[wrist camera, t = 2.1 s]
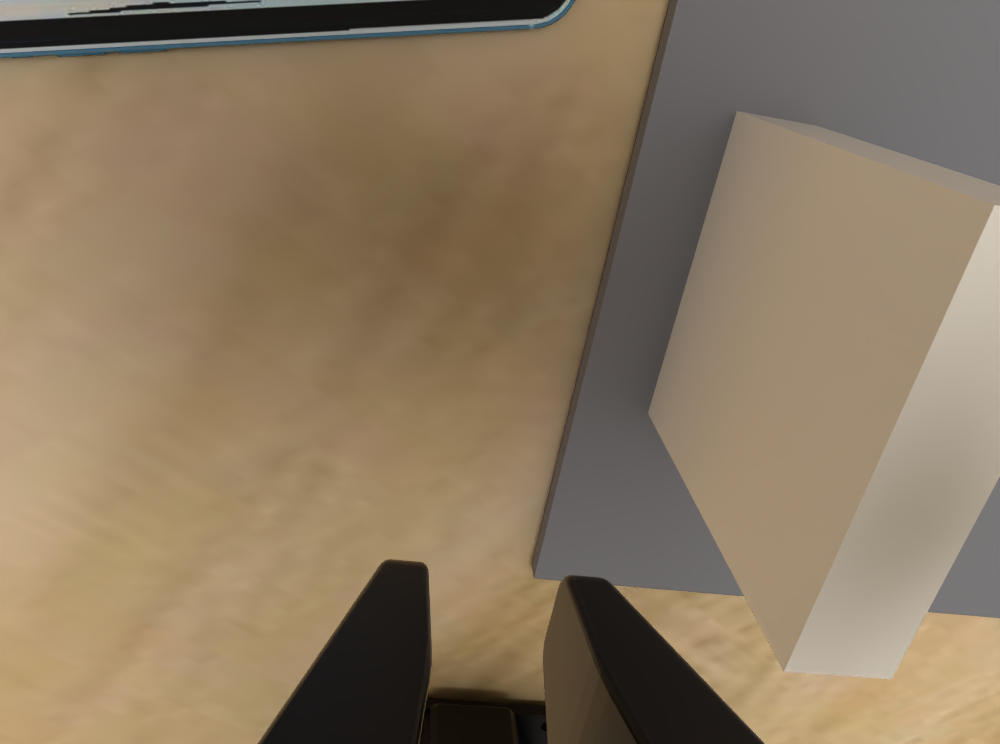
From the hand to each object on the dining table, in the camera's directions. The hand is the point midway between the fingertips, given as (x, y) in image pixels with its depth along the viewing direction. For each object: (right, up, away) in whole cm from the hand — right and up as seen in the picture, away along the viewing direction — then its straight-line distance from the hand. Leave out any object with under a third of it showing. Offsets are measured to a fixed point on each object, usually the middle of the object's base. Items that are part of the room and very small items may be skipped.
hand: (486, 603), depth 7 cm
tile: (+6, +5, +12) cm, 14 cm away
